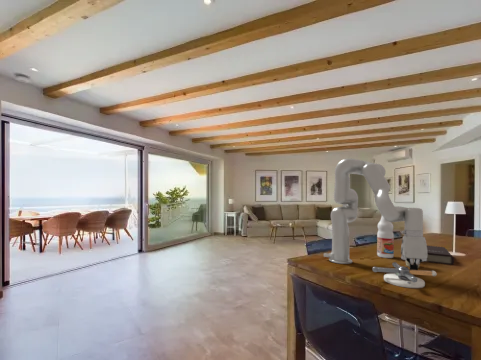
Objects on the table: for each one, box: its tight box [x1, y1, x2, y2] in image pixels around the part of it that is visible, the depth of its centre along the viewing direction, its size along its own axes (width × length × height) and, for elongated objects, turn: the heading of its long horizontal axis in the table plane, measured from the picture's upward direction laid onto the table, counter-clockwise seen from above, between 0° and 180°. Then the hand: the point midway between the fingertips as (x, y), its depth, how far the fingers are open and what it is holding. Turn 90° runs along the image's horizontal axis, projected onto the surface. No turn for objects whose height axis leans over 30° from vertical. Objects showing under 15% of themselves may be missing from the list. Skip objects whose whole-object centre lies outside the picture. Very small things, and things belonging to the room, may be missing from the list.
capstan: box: [371, 261, 437, 282], centre depth 128 cm, size 26×26×5 cm
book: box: [421, 245, 455, 266], centre depth 178 cm, size 28×20×6 cm
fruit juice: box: [376, 213, 395, 259], centre depth 180 cm, size 9×9×28 cm
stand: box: [383, 273, 426, 289], centre depth 128 cm, size 16×16×2 cm
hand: (413, 272), depth 134 cm, fingers closed
